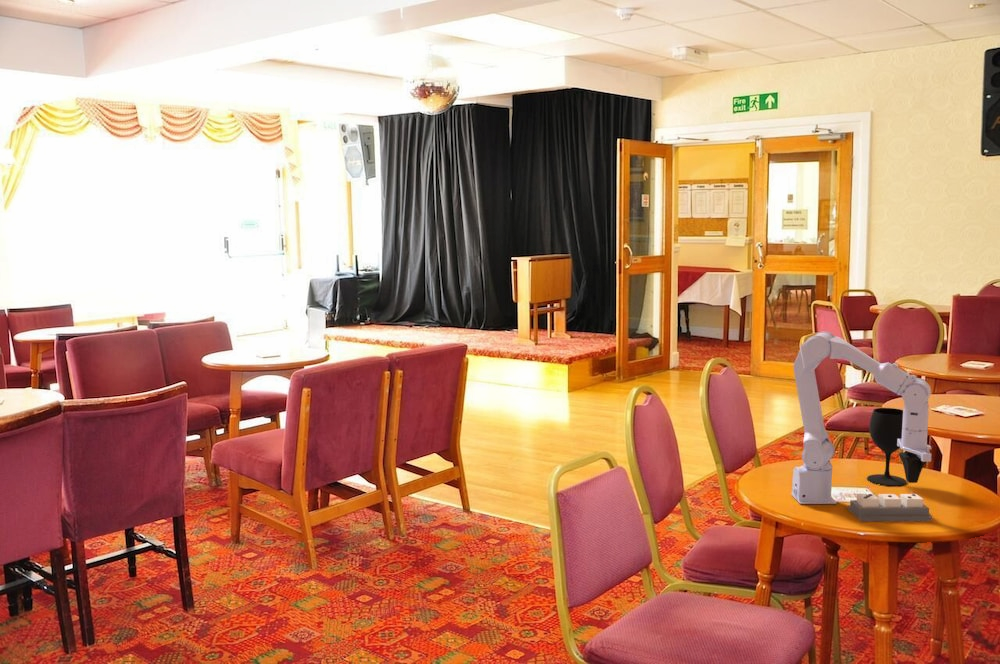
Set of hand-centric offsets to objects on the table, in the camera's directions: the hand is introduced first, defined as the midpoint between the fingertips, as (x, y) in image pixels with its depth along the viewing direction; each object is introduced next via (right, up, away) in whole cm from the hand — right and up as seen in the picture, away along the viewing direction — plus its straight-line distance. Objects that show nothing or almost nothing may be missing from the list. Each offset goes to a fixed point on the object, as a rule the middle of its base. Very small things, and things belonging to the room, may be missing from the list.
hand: (911, 482), depth 224 cm
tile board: (-5, -8, +1) cm, 10 cm away
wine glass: (+6, -5, +29) cm, 30 cm away
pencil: (+6, -8, +7) cm, 12 cm away
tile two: (0, -6, +1) cm, 6 cm away
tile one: (-5, -6, +1) cm, 8 cm away
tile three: (-11, -6, +1) cm, 12 cm away
